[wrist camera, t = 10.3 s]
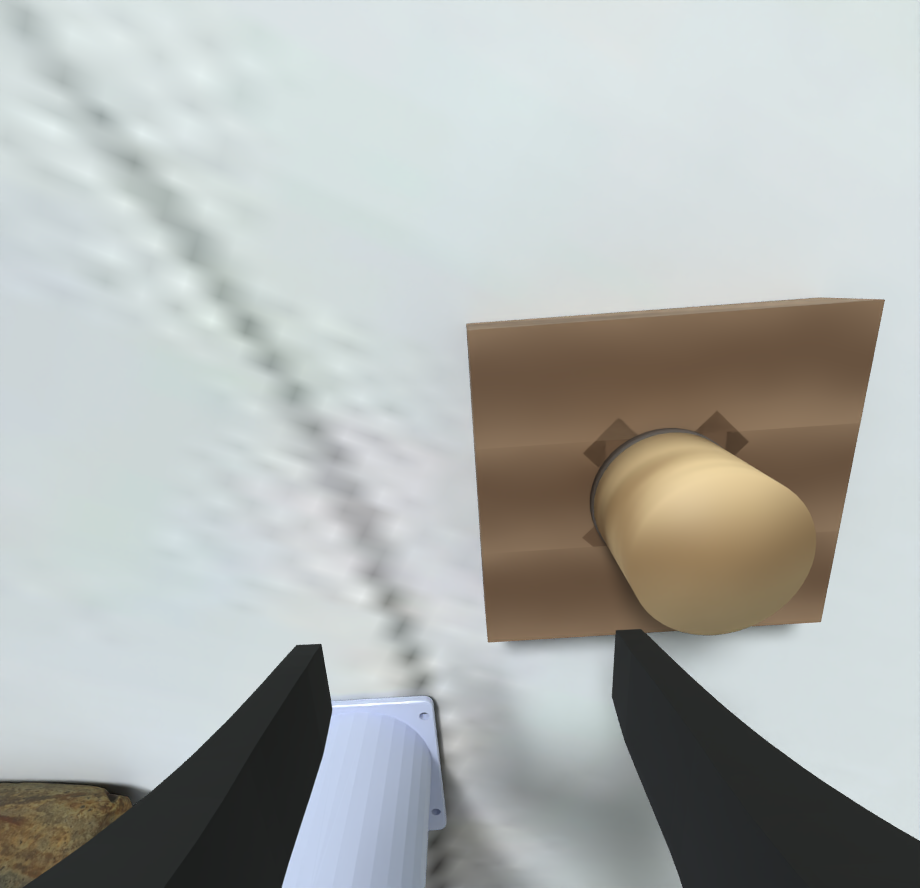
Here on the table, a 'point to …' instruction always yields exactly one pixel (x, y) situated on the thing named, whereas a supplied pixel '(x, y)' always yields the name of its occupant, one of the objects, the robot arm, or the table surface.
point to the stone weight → (49, 825)
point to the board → (645, 409)
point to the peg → (701, 532)
